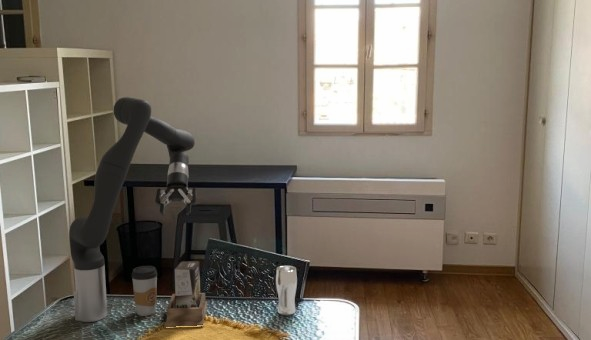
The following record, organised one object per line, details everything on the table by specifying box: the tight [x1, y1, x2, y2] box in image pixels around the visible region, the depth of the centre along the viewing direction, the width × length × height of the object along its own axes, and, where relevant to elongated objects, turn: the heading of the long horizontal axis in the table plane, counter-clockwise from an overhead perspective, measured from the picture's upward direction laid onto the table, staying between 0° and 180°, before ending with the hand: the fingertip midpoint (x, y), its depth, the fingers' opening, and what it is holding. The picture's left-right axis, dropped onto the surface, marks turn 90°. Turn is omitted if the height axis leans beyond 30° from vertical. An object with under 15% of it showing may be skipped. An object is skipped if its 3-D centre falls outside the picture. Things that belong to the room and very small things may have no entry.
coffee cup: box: [131, 265, 158, 317], centre depth 184 cm, size 8×8×15 cm
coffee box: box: [174, 260, 201, 308], centre depth 181 cm, size 9×6×16 cm
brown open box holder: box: [163, 292, 208, 328], centre depth 182 cm, size 12×20×5 cm, turn 5°
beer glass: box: [275, 265, 298, 316], centre depth 184 cm, size 7×7×15 cm
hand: (175, 214), depth 194 cm, fingers open, 8 cm apart
